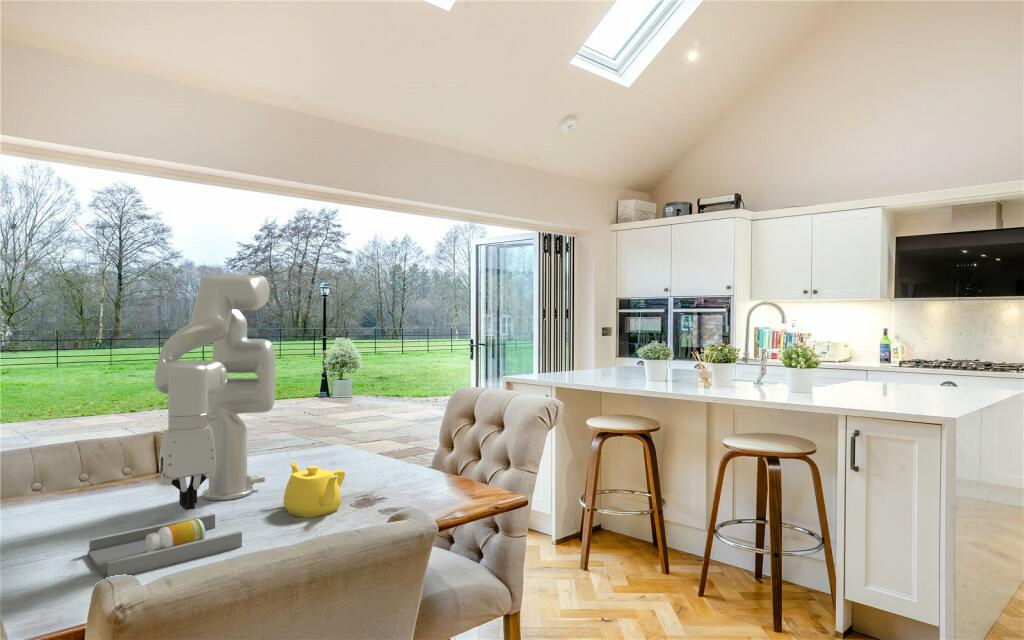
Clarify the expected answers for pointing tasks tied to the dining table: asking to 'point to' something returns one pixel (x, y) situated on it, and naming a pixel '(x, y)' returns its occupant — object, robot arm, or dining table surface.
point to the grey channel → (132, 556)
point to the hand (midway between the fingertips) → (188, 508)
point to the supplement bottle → (176, 535)
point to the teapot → (313, 491)
